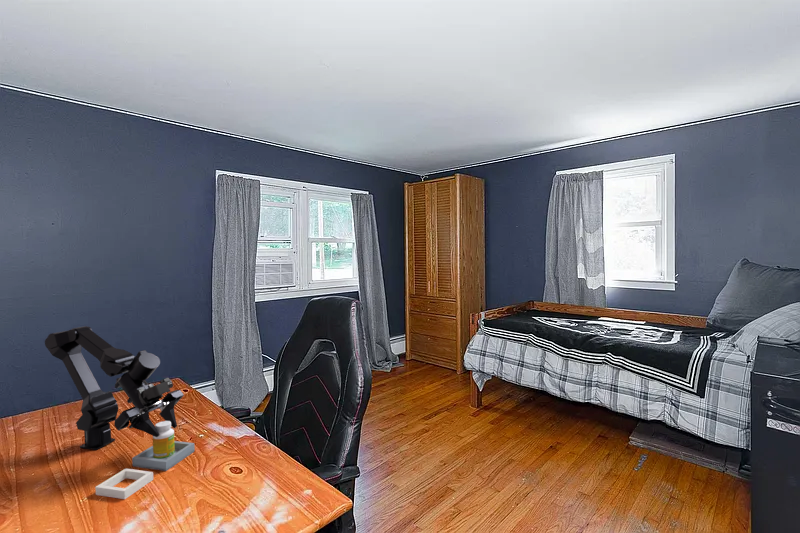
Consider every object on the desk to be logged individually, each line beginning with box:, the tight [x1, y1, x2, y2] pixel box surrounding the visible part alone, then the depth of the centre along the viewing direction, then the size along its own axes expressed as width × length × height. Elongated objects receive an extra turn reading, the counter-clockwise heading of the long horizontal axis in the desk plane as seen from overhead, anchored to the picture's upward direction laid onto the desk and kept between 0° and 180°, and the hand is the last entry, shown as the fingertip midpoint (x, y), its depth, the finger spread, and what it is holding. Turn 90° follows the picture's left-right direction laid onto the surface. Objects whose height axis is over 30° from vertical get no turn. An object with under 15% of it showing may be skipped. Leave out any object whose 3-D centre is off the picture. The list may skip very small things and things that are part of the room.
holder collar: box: [95, 468, 154, 500], centre depth 104 cm, size 9×9×2 cm
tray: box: [131, 440, 196, 472], centre depth 117 cm, size 11×11×2 cm
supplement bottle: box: [152, 420, 176, 460], centre depth 117 cm, size 5×5×10 cm
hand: (167, 431), depth 117 cm, fingers open, 5 cm apart
